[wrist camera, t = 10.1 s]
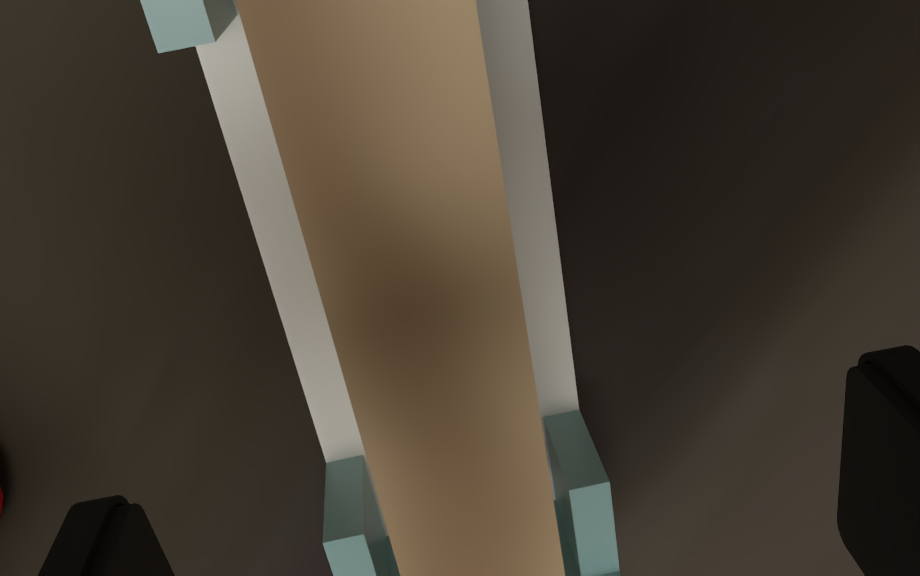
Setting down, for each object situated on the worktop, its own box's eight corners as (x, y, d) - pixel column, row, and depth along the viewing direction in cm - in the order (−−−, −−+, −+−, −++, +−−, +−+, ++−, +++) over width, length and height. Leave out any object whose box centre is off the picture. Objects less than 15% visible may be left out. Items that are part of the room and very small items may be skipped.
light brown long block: (423, -149, 16) (451, -157, 12) (531, 481, 23) (572, 623, 19) (245, -114, 16) (204, -109, 11) (410, 507, 23) (423, 656, 19)
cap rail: (482, -272, 16) (534, -329, 12) (583, 496, 25) (634, 634, 21) (130, -206, 16) (40, -238, 11) (360, 543, 25) (362, 693, 21)
